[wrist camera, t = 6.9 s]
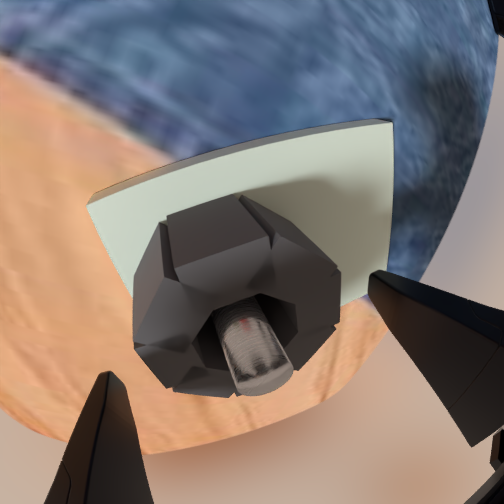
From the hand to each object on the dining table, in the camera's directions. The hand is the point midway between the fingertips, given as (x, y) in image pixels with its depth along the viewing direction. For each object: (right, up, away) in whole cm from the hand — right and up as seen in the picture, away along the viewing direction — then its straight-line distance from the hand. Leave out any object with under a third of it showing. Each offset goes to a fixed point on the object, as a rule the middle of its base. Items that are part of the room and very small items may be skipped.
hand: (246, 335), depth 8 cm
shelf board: (+1, +3, +4) cm, 5 cm away
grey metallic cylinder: (-1, +2, +3) cm, 4 cm away
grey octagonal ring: (-1, +1, +3) cm, 3 cm away
